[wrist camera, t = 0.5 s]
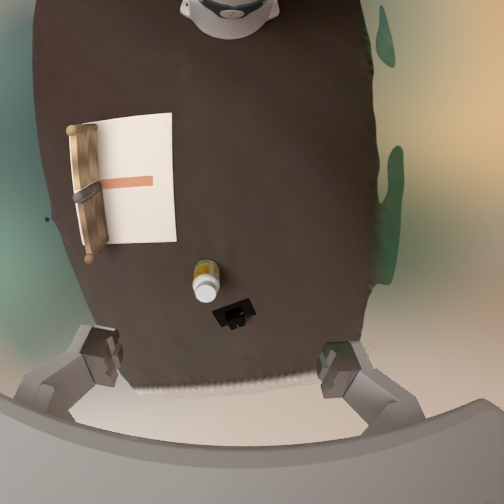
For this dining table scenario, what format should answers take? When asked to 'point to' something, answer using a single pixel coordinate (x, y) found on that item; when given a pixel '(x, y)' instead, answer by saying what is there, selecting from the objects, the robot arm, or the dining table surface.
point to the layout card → (136, 178)
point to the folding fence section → (83, 154)
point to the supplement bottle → (206, 280)
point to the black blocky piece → (234, 314)
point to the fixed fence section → (91, 220)
